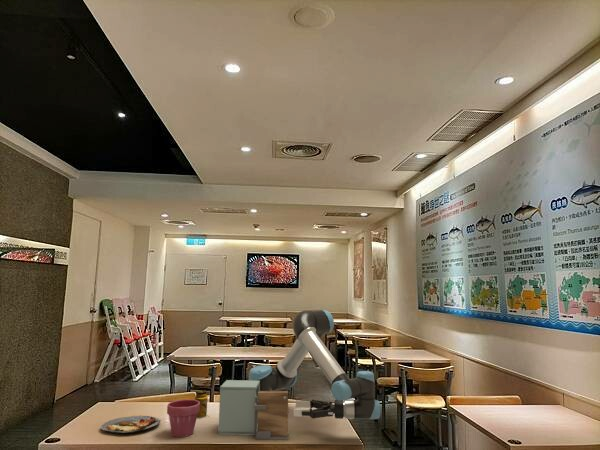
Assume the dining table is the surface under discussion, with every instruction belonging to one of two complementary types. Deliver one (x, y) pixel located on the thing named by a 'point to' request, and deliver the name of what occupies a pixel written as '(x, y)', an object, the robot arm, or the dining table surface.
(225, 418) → the cabinet
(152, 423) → the food plate
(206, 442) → the dining table surface
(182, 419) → the plant pot
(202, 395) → the condiment
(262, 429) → the door
